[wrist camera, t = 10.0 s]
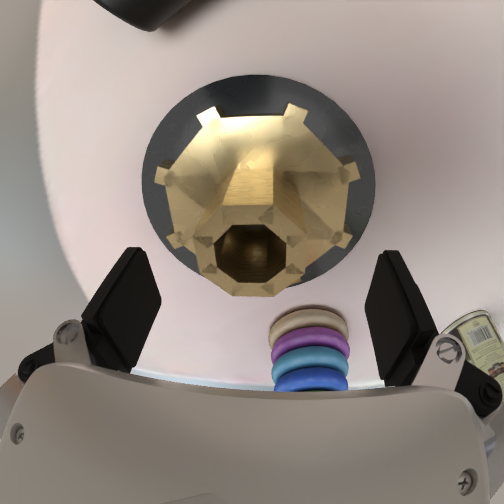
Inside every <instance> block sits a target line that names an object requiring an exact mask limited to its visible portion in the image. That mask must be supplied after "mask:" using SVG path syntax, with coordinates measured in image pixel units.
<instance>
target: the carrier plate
mask: <svg viewBox="0 0 504 504" xmlns="http://www.w3.org/2000/svg"><path fill="white" fill-rule="evenodd" d="M287 102H289V103H292V104H294V105H297V106H299V107H302V108H304V109H306V110H307V111H308V112H307V115H306V117H305V119H304V122H303V124H304V125H305V126H306V127H307V128H308V129H310V130H311V131H312V132H313V133H314V135H315V136H316V137H317V138H318V139H319V140H320V141H321V142H322V143H323V144H324V145H325V146H326V147H327V148H328V149H329V150H330V151H331V152H332V153H333V154H334V155H335V157H336V158H337V159H339V158H341V157H344V156H347V155H349V156H350V157H351V158H352V159H353V160H354V161H355V162H356V165H357V168H358V172H359V175H360V179H357V180H354V181H351V182H349V185H348V195H347V204H346V213H345V221H344V223H345V224H348V226H349V228H350V231H351V233H352V235H353V236H352V238H351V240H350V241H349V243H348V244H347V246H346V248H345V249H344V248H341V247H339V246H336V245H334V246H333V247H332V248H331V249H329V250H328V251H327V252H325V253H324V254H323V255H322V256H320V257H319V258H318V259H316V260H315V261H314V262H312V263H311V264H310V265H308V266H307V267H306V268H305V274H304V275H303V276H301V282H297V283H294V284H291V285H289V286H288V287H292V286H296V285H299V284H302V283H305V282H307V281H310V280H312V279H314V278H316V277H318V276H320V275H322V274H324V273H325V272H327V271H328V270H330V269H331V268H333V267H334V266H335V265H336V264H338V263H339V262H340V261H341V260H342V259H344V257H345V256H346V255H347V254H348V253H349V252H350V251H351V250H352V249H353V247H354V246H355V245H356V243H357V242H358V241H359V239H360V237H361V236H362V234H363V232H364V230H365V228H366V226H367V224H368V221H369V218H370V216H371V212H372V208H373V204H374V197H375V173H374V167H373V163H372V158H371V155H370V152H369V149H368V147H367V144H366V142H365V140H364V138H363V136H362V134H361V133H360V131H359V129H358V127H357V126H356V125H355V124H354V122H353V121H352V120H351V118H350V117H349V116H348V115H347V114H346V113H345V112H344V111H343V110H342V109H341V108H340V107H339V106H338V105H337V104H336V103H335V102H334V101H332V100H331V99H329V98H328V97H326V96H325V95H324V94H322V93H321V92H319V91H317V90H315V89H313V88H311V87H309V86H307V85H305V84H302V83H299V82H296V81H293V80H290V79H287V78H282V77H276V76H270V75H244V76H236V77H230V78H226V79H223V80H219V81H216V82H213V83H211V84H209V85H206V86H204V87H202V88H200V89H198V90H196V91H195V92H193V93H191V94H190V95H188V96H187V97H185V98H184V99H183V100H181V101H180V102H179V103H178V104H177V105H176V106H175V107H173V108H172V109H171V110H170V112H169V113H168V114H167V115H166V116H165V117H164V119H163V120H162V121H161V122H160V124H159V126H158V127H157V129H156V130H155V132H154V134H153V136H152V138H151V140H150V143H149V145H148V147H147V150H146V154H145V158H144V162H143V169H142V193H143V199H144V205H145V208H146V211H147V214H148V217H149V220H150V222H151V224H152V226H153V228H154V230H155V232H156V233H157V235H158V237H159V238H160V240H161V241H162V242H163V244H164V245H165V246H166V247H167V249H168V250H169V251H170V252H171V253H172V254H173V255H174V256H175V257H176V258H177V259H178V260H179V261H181V262H182V263H183V264H184V265H186V266H187V267H188V268H190V269H191V270H193V271H194V272H196V273H198V274H199V275H201V274H200V272H199V267H198V262H197V257H196V255H195V254H194V253H193V252H191V251H190V250H189V249H187V248H186V247H185V246H181V247H179V248H176V249H174V248H173V246H172V245H171V243H170V242H169V241H168V239H167V238H166V236H167V234H168V233H169V231H170V229H171V228H172V226H173V222H172V217H171V213H170V208H169V203H168V197H167V192H166V187H165V186H164V185H161V184H157V183H154V181H155V176H156V171H157V166H159V165H160V164H161V163H162V162H163V161H165V160H169V161H173V162H175V161H176V160H177V159H178V157H179V156H180V155H181V154H182V152H183V151H184V150H185V149H186V147H187V146H188V145H189V144H190V142H191V141H192V140H193V139H194V137H195V136H196V135H197V134H198V133H199V131H200V130H201V129H202V128H203V126H202V124H201V122H200V121H199V119H198V117H197V115H198V114H200V113H202V112H204V111H206V110H208V109H210V108H212V107H214V106H216V105H220V107H221V109H222V111H223V112H224V114H225V115H238V114H261V113H283V111H284V108H285V106H286V104H287ZM241 226H242V227H243V228H245V229H247V230H250V231H259V230H262V229H264V228H266V227H267V226H266V225H264V224H246V225H241ZM201 276H203V275H201ZM203 277H204V276H203ZM205 278H206V277H205ZM288 287H286V288H288Z"/></svg>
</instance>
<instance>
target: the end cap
mask: <svg viewBox="0 0 504 504" xmlns="http://www.w3.org/2000/svg"><path fill="white" fill-rule="evenodd" d="M94 1H95V2H96V3H97V4H99V5H100V6H101V7H103V8H104V9H106V10H107V11H109V12H110V13H112V14H113V15H115V16H116V17H118V18H120V19H121V20H123V21H125V22H127V23H128V24H130V25H132V26H134V27H136V28H138V29H141V30H143V31H148V32H152V31H155V30H156V29H157V28H159V27H160V26H161V25H162V24H163V23H164V22H166V21H167V20H168V19H169V18H170V17H172V16H173V15H174V14H175V13H176V12H178V11H179V10H180V9H181V8H183V7H184V6H185V5H187V4H188V3H189V2H191V1H192V0H94Z"/></svg>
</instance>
